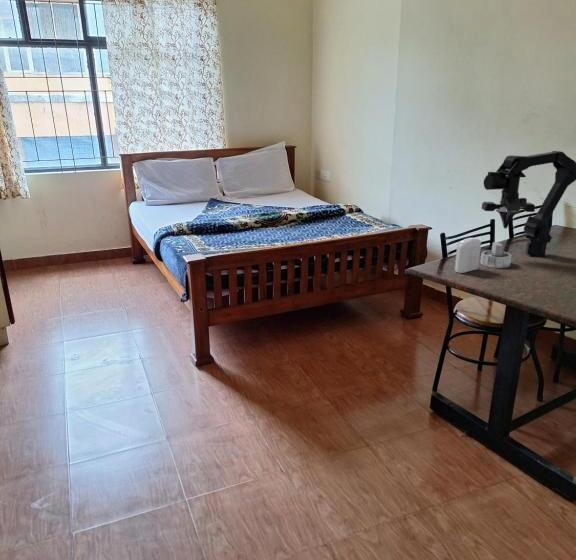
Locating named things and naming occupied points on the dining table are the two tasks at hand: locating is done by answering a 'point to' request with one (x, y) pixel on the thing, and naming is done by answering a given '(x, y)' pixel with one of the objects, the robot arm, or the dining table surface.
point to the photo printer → (467, 255)
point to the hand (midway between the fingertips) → (505, 228)
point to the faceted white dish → (495, 260)
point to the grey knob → (496, 250)
